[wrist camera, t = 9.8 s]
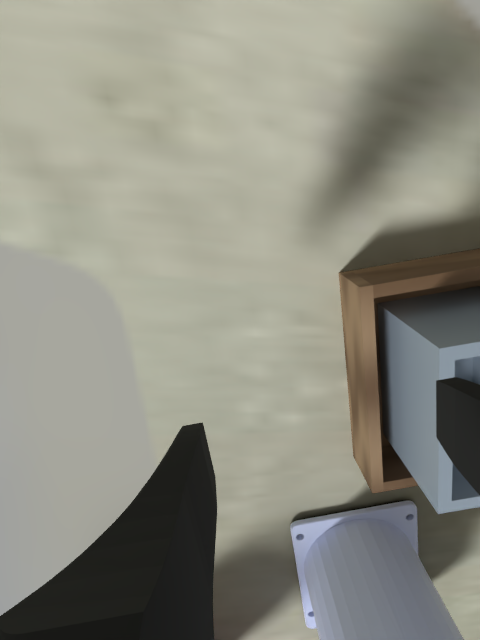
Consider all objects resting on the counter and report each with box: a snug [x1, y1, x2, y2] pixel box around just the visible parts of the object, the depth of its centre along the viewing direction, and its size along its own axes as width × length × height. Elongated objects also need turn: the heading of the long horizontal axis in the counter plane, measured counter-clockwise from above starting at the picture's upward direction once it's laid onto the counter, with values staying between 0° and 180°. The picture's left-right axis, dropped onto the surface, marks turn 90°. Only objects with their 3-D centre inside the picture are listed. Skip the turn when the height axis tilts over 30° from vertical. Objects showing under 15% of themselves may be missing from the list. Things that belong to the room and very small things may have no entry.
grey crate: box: [378, 286, 480, 514], centre depth 19 cm, size 8×5×6 cm
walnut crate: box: [339, 248, 480, 493], centre depth 21 cm, size 11×9×4 cm
